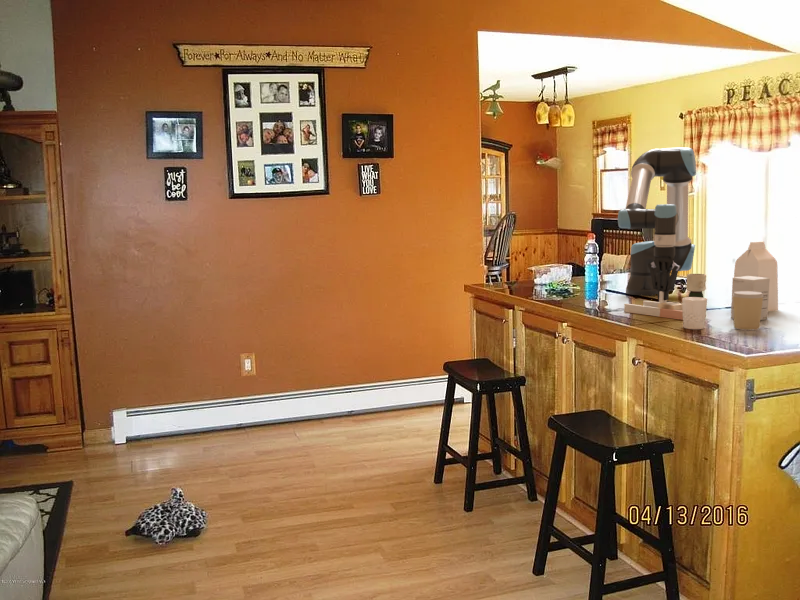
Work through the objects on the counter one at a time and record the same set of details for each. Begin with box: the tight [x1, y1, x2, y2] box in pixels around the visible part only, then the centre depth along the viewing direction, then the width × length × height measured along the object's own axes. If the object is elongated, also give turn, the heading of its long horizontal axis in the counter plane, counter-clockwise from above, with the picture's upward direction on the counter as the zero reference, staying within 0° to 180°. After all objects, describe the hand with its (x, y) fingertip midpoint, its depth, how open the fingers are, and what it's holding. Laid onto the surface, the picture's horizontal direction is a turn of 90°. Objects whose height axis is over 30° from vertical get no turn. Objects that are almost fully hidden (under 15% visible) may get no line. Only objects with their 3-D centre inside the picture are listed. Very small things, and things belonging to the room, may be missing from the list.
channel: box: [623, 300, 683, 321], centre depth 291 cm, size 26×13×3 cm, turn 36°
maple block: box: [658, 301, 682, 311], centre depth 288 cm, size 7×7×4 cm
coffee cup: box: [733, 291, 763, 331], centre depth 259 cm, size 9×9×12 cm
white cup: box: [681, 296, 708, 330], centre depth 262 cm, size 8×8×10 cm
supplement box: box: [730, 276, 770, 321], centre depth 276 cm, size 9×9×15 cm
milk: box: [731, 240, 779, 312], centre depth 295 cm, size 12×12×26 cm
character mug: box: [686, 273, 707, 298], centre depth 304 cm, size 11×7×13 cm, turn 5°
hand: (662, 308), depth 292 cm, fingers closed
